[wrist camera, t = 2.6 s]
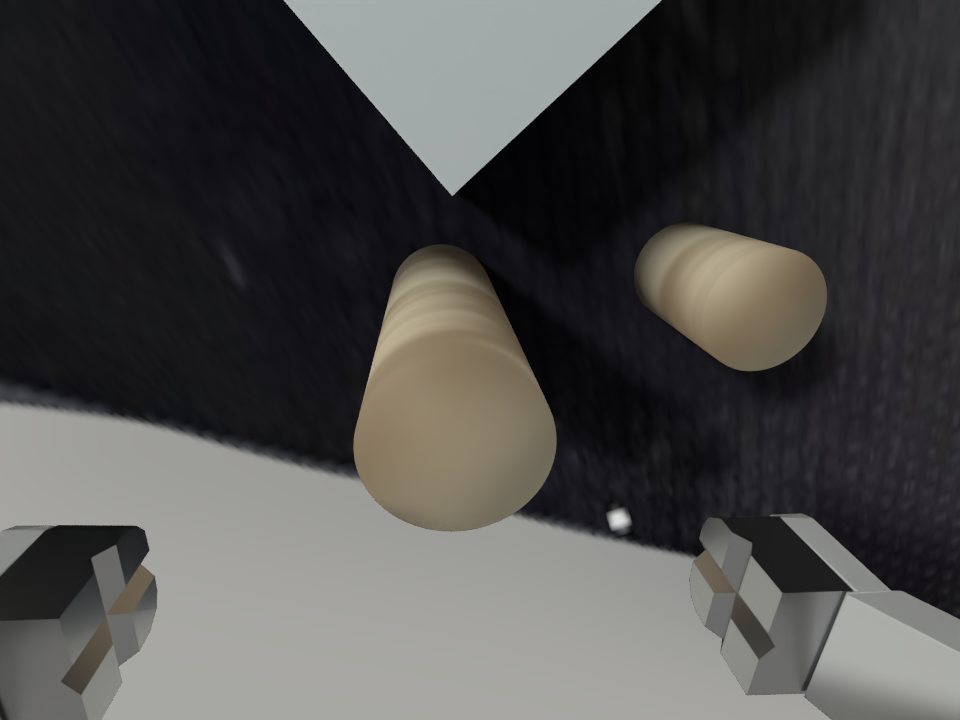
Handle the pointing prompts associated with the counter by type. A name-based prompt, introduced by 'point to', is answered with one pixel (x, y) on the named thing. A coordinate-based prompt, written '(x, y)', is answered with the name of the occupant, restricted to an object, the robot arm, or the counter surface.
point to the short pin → (732, 293)
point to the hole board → (465, 65)
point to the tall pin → (451, 401)
